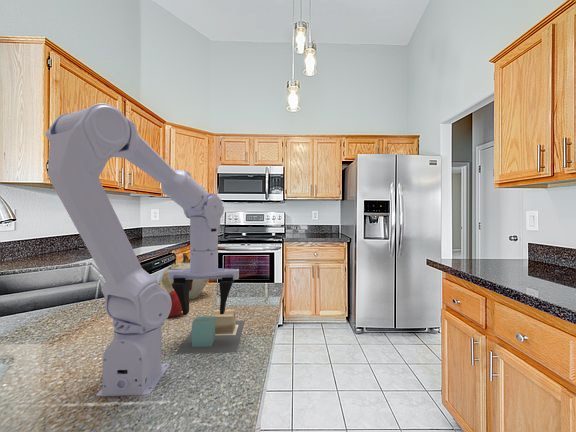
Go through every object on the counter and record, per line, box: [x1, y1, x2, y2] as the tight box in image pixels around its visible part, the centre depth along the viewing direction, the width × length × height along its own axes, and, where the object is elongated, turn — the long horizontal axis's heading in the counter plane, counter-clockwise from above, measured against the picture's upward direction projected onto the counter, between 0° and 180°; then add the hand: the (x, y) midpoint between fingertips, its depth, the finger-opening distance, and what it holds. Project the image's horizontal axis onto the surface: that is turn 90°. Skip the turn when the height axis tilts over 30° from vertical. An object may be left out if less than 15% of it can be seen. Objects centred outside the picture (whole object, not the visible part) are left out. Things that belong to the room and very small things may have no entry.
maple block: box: [210, 309, 236, 334], centre depth 71 cm, size 5×5×4 cm
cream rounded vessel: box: [161, 252, 209, 300], centre depth 102 cm, size 20×15×15 cm
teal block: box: [191, 315, 215, 347], centre depth 64 cm, size 4×4×5 cm
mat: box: [174, 320, 246, 355], centre depth 68 cm, size 18×12×1 cm, turn 3°
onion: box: [168, 289, 183, 318], centre depth 81 cm, size 6×6×8 cm
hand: (204, 313), depth 64 cm, fingers open, 7 cm apart
